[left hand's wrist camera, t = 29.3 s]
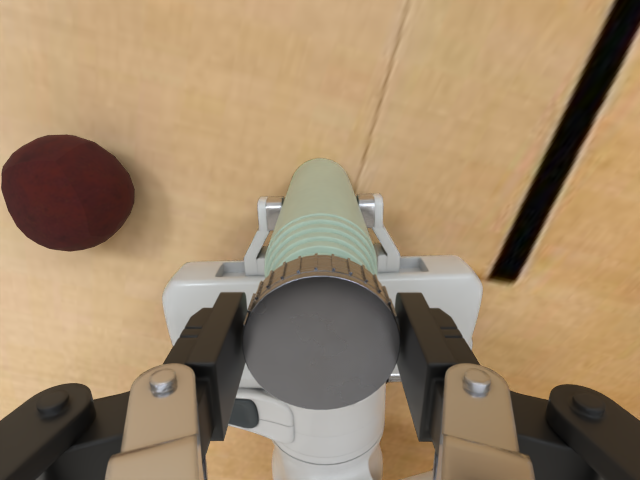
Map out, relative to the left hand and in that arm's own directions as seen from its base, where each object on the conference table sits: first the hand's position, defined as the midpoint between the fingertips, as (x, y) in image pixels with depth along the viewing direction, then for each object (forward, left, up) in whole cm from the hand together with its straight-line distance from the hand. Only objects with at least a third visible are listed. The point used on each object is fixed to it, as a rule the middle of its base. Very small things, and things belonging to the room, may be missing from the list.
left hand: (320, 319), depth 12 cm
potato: (+17, -3, -19) cm, 25 cm away
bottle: (0, 0, -19) cm, 19 cm away
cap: (0, 0, +1) cm, 1 cm away
